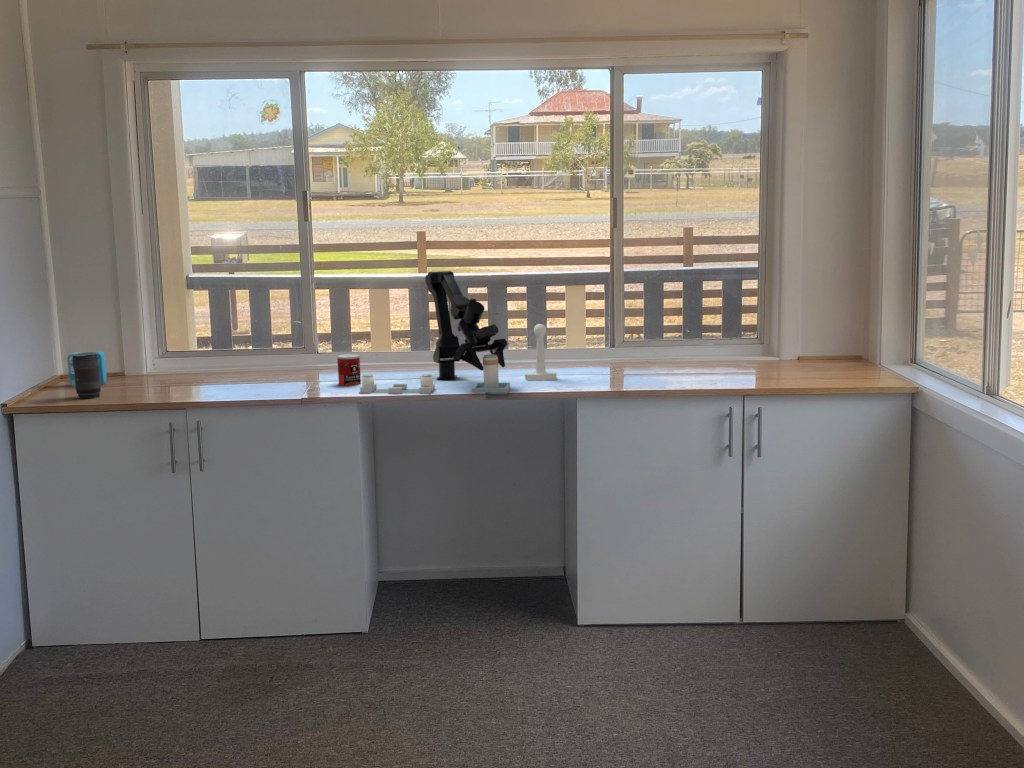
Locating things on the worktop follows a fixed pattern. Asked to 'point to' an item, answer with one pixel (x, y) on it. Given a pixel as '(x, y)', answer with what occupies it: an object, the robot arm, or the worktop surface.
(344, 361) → the canned food
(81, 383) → the camera lens
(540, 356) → the joystick
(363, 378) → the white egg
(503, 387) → the tray
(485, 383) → the copper banded cylinder
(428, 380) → the small fuse
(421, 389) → the block
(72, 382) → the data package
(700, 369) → the worktop surface
